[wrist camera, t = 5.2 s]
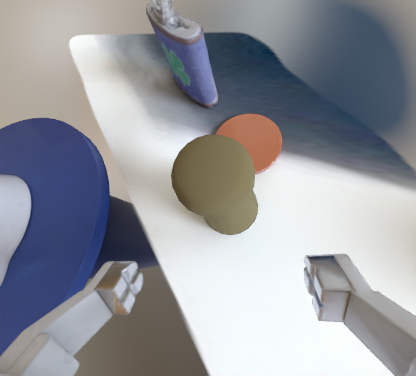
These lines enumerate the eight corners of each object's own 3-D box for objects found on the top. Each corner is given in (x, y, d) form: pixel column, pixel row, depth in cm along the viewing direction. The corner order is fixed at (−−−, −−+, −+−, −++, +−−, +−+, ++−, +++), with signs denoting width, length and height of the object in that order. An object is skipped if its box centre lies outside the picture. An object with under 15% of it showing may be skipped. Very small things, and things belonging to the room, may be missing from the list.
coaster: (238, 189, 21) (238, 187, 20) (201, 142, 24) (200, 139, 23) (297, 147, 21) (298, 144, 20) (252, 105, 24) (252, 102, 23)
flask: (222, 100, 25) (202, 1, 15) (205, 113, 25) (174, 24, 15) (185, 68, 28) (148, -28, 18) (170, 80, 28) (125, -10, 18)
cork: (192, 203, 21) (138, 161, 11) (233, 170, 21) (216, 100, 11) (225, 246, 19) (193, 245, 9) (270, 210, 19) (291, 167, 9)
